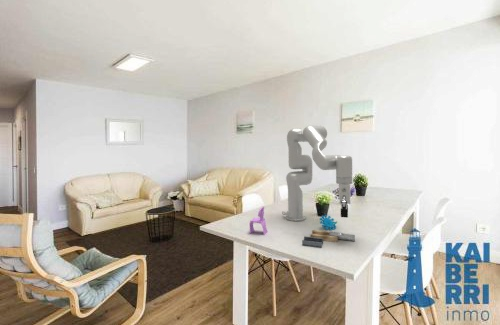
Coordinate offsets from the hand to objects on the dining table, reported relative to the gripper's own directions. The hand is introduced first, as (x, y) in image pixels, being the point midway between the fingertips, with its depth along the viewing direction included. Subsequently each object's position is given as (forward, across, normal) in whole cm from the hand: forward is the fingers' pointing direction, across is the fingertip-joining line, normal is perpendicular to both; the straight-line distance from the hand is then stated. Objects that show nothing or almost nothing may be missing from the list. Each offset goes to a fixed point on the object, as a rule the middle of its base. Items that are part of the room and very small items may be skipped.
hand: (344, 214), depth 125 cm
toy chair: (+13, -2, +45) cm, 47 cm away
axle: (+13, 0, +2) cm, 13 cm away
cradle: (+13, -10, +14) cm, 22 cm away
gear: (+14, +17, +9) cm, 24 cm away
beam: (+13, 0, +10) cm, 17 cm away
